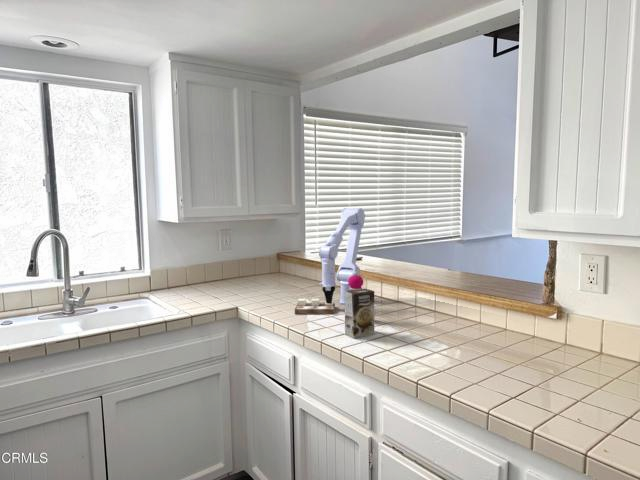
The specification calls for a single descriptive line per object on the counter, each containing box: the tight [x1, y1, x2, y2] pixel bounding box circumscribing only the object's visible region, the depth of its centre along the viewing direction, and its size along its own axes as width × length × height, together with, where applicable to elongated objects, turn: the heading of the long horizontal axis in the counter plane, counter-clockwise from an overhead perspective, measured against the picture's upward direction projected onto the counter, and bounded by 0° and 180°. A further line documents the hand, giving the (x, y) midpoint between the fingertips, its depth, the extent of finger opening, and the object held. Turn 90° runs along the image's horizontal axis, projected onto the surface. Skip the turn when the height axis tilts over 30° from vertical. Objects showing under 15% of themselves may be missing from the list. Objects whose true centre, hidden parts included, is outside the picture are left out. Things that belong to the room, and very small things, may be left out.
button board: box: [294, 302, 336, 315], centre depth 195 cm, size 17×12×2 cm
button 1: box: [297, 298, 307, 306], centre depth 197 cm, size 3×3×3 cm
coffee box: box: [344, 288, 375, 339], centre depth 161 cm, size 9×6×16 cm
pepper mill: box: [348, 272, 364, 290], centre depth 178 cm, size 7×7×20 cm
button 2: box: [324, 301, 334, 306], centre depth 196 cm, size 3×3×3 cm
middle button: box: [311, 298, 320, 306], centre depth 196 cm, size 3×3×3 cm
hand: (329, 303), depth 196 cm, fingers closed, pressing on button 2
